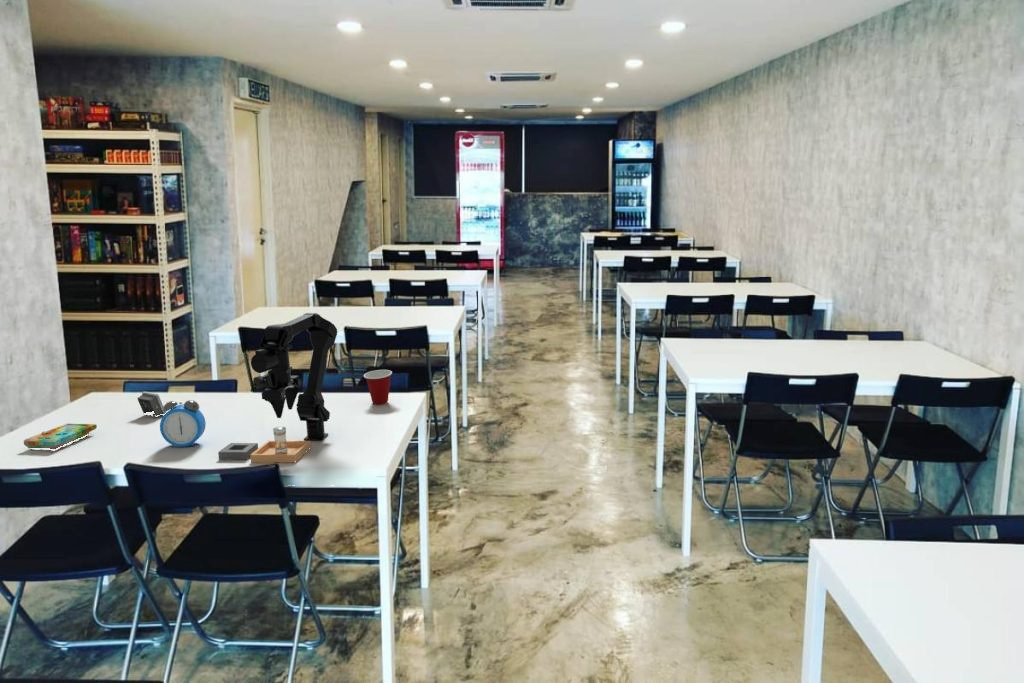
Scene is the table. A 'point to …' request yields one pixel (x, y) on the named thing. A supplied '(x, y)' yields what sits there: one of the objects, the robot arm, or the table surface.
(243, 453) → the block
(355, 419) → the table surface
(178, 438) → the alarm clock
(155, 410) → the electrical switch
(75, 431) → the puzzle game
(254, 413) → the table surface
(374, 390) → the plastic cup
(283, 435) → the cylinder
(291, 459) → the tray
